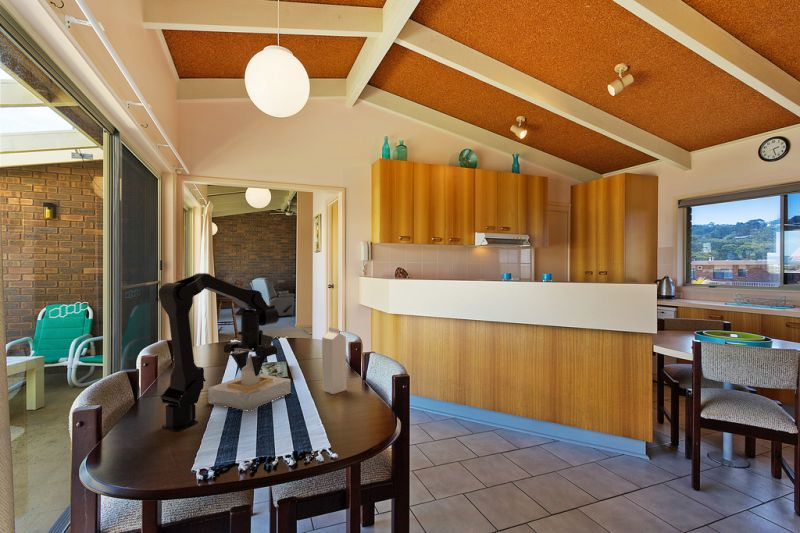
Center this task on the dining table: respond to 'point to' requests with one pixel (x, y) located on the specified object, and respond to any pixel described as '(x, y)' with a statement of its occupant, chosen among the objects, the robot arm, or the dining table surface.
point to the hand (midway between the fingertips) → (250, 374)
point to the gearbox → (248, 392)
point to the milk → (334, 361)
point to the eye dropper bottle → (249, 374)
